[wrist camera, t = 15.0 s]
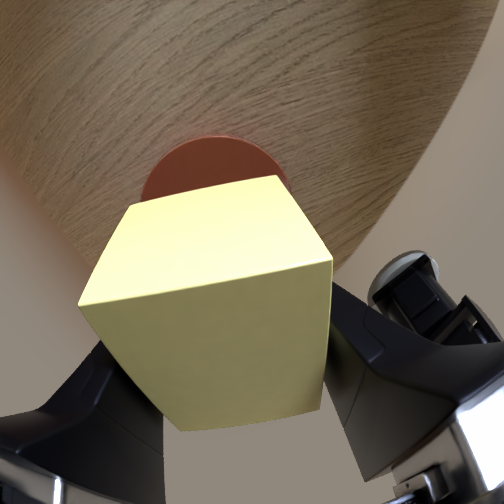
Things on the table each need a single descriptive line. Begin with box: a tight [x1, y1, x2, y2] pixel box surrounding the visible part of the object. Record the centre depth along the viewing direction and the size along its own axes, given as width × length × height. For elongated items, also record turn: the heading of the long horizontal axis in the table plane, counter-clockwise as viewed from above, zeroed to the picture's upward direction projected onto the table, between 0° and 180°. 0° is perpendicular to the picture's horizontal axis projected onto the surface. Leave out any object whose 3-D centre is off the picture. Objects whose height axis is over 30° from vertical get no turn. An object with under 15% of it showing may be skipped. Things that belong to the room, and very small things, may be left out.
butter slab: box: [78, 175, 333, 431], centre depth 8 cm, size 6×5×4 cm
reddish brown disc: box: [140, 133, 292, 203], centre depth 15 cm, size 8×8×1 cm
